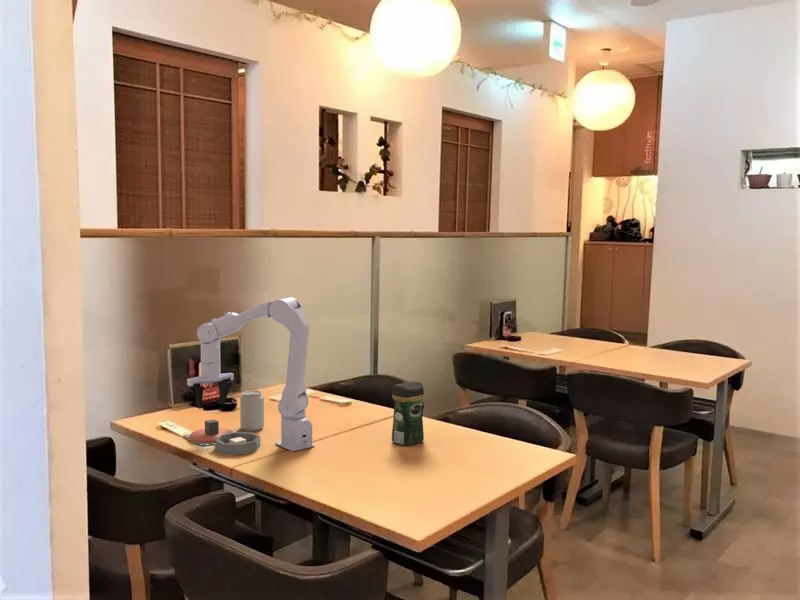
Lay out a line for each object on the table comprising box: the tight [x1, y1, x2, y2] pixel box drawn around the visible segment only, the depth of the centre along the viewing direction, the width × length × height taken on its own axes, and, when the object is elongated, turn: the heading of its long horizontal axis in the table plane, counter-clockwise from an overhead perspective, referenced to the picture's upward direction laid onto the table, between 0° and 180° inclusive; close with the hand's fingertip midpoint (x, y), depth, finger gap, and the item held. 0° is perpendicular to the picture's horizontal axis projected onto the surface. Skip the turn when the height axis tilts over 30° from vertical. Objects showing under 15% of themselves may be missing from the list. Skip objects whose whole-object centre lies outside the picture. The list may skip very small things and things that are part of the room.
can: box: [239, 390, 265, 432], centre depth 224 cm, size 8×8×12 cm
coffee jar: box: [391, 380, 425, 447], centre depth 212 cm, size 10×8×19 cm
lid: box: [190, 418, 234, 443], centre depth 213 cm, size 13×13×5 cm
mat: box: [183, 433, 215, 446], centre depth 213 cm, size 12×12×1 cm
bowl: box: [214, 431, 261, 456], centre depth 204 cm, size 12×12×3 cm
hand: (211, 405), depth 212 cm, fingers open, 7 cm apart
